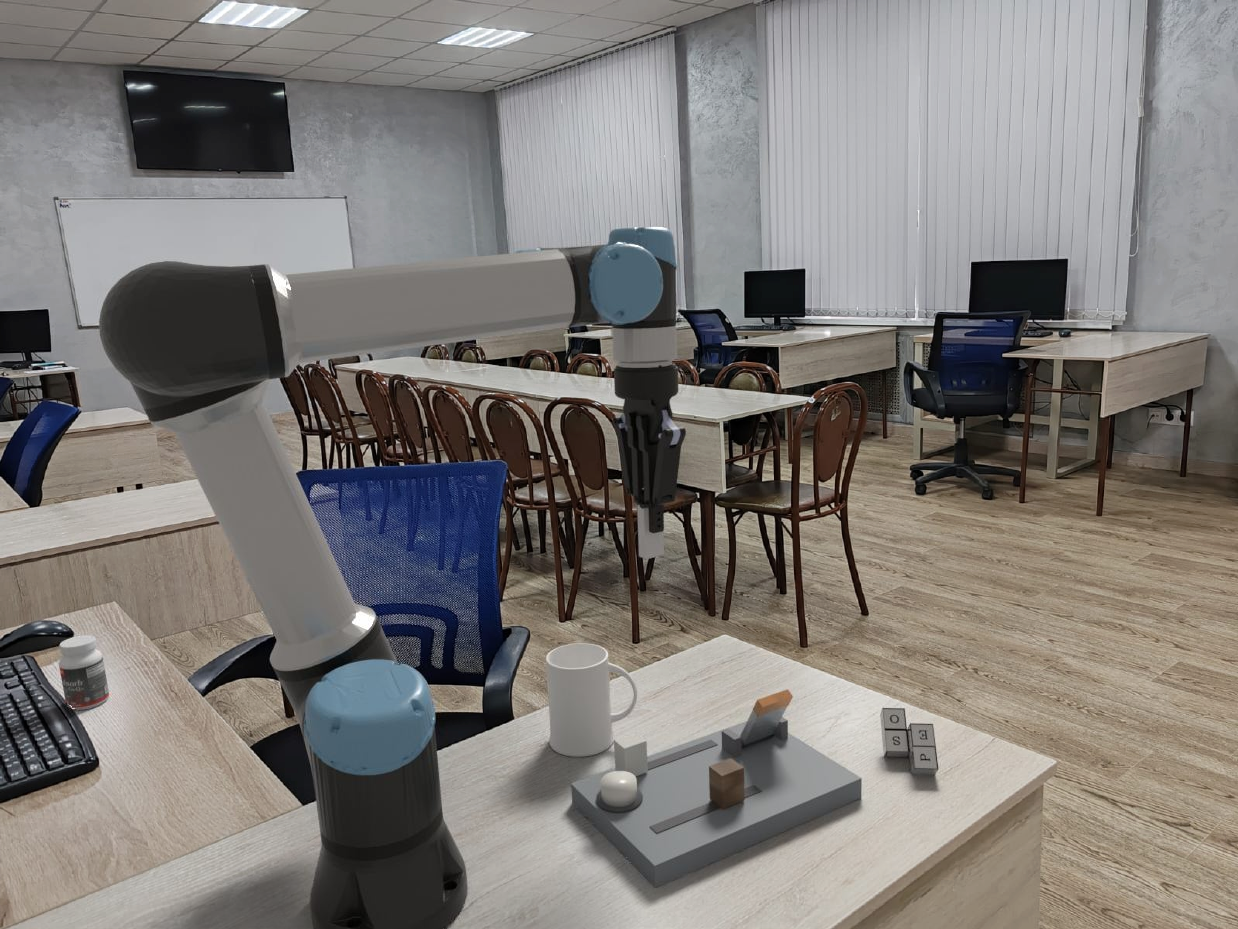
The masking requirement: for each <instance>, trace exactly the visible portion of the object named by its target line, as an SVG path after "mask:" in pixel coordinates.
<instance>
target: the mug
mask: <svg viewBox="0 0 1238 929" xmlns="http://www.w3.org/2000/svg"><path fill="white" fill-rule="evenodd" d="M545 667H546V668H545V669H546V682H547V683H546V684H547V695H548V696H547V698H548V699H547V700H548V713H549V715H548V716H549V724H550V725H549V731H550V732H549V733H550V734H549V739H548V740H549V746H550V748H551V750H554V751H555V752H556V753H557V754H561V755H563V756H567V757H573V758H582V757H583V758H584V757H585V758H586V757H590V756H594V755H597V754H601V753H603V752H605V751H606V750H608V749H609V748H610V747H611V746H612V745H614V740H615V733H614V730H613V724H614V723H617V722H619V721H621V720H624V719H625V718H627V717H628V716H629V715H630V714H631V712H633V710H634V708H635V706H636V704H637V701H638V688H637V685H636V683H635V680H634V678H633V677H632V675H631V674H630V673H629V672H628V671H627V670H625V669H624V668H623V667H621V666H619V665H617V664H614V663H611V662H610V661H609V652H608V651H607V649H606V648H604V647H603V646H600V645H597V644H592V643H584V642H583V643H570V644H564V645H561V646H557V647H556V648H554V649H552V650H550V651H549V652H548V653H547V654H546V657H545ZM610 673H615V674H618V675H620V676H621V677H624V679H626V680H627V682H629V684H630V686H631V688H632V692H633V697H632V700H631V703H630V704H629V706H628V707H627V708H626V709H624V710H623V711H620V712H616V713H615V712H613V713H612V705H611V704H612V703H611V702H612V701H611V684H610V682H611V680H610Z"/></svg>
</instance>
